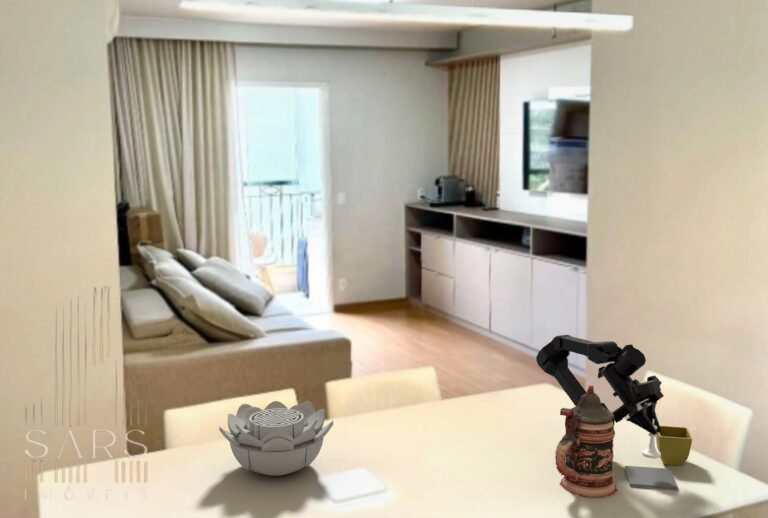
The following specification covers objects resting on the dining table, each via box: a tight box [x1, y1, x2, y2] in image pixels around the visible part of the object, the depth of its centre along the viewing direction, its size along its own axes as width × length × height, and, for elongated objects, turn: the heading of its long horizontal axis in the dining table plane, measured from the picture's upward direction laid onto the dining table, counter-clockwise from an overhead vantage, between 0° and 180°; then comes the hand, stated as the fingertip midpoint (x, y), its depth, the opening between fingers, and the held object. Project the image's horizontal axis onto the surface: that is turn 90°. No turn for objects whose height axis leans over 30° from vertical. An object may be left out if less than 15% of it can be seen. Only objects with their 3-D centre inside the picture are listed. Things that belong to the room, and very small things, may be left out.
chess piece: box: [641, 419, 661, 460], centre depth 213 cm, size 5×5×10 cm
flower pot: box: [655, 425, 693, 466], centre depth 225 cm, size 9×9×9 cm
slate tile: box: [624, 465, 679, 491], centre depth 215 cm, size 12×12×1 cm
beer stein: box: [554, 385, 618, 498], centre depth 209 cm, size 17×28×18 cm
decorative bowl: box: [218, 400, 334, 476], centre depth 221 cm, size 30×30×15 cm
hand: (657, 433), depth 212 cm, fingers closed on chess piece
